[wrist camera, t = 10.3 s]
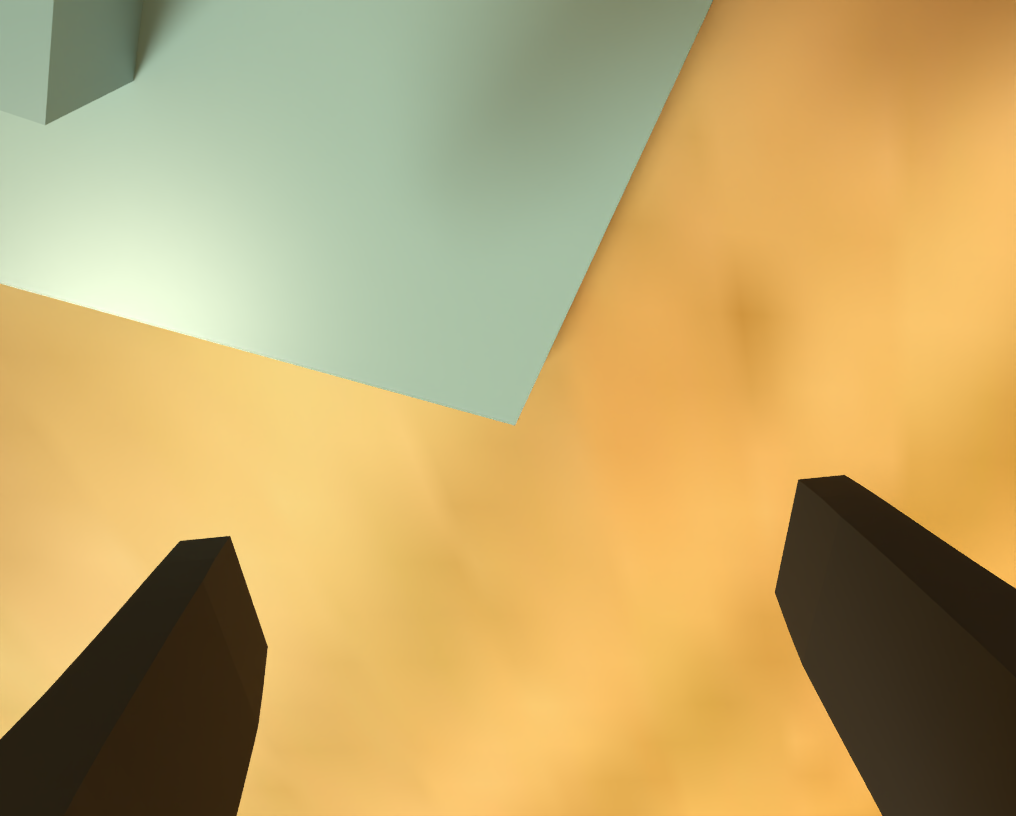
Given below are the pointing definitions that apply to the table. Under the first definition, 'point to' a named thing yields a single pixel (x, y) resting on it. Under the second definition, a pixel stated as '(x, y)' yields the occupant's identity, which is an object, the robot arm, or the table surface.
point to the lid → (332, 172)
